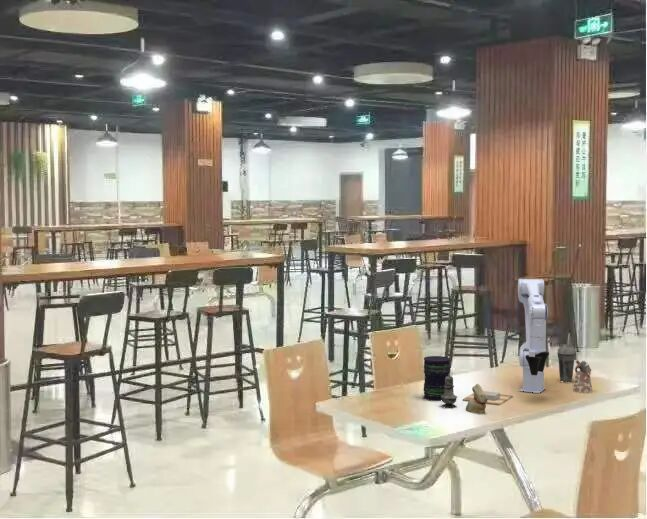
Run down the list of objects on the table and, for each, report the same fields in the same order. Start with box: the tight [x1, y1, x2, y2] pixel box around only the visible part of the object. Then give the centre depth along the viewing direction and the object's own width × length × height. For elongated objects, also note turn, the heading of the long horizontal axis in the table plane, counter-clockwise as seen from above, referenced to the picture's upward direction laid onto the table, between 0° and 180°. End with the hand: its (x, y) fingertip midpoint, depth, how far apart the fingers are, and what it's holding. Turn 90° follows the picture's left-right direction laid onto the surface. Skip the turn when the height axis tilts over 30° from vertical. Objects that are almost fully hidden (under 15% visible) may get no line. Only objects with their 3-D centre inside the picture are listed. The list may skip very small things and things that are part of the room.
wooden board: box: [462, 392, 514, 406], centre depth 306 cm, size 15×14×1 cm
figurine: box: [572, 359, 593, 394], centre depth 319 cm, size 7×7×12 cm
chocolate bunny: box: [465, 383, 488, 414], centre depth 287 cm, size 6×8×10 cm
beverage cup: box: [557, 332, 577, 382], centre depth 336 cm, size 7×7×20 cm
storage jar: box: [423, 355, 451, 402], centre depth 308 cm, size 10×10×15 cm
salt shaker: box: [441, 372, 458, 409], centre depth 295 cm, size 6×6×12 cm
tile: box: [483, 390, 501, 400], centre depth 306 cm, size 2×8×6 cm
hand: (537, 373), depth 304 cm, fingers open, 7 cm apart
